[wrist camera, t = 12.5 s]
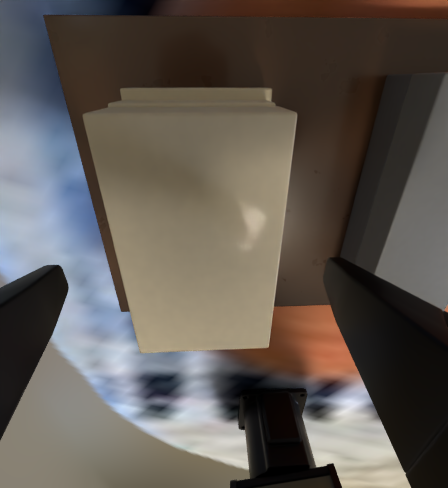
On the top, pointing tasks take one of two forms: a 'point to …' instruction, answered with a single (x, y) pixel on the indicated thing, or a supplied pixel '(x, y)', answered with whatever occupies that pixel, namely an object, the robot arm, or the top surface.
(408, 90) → the grey rectangular block
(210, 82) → the walnut board
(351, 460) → the top surface
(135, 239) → the cream book
